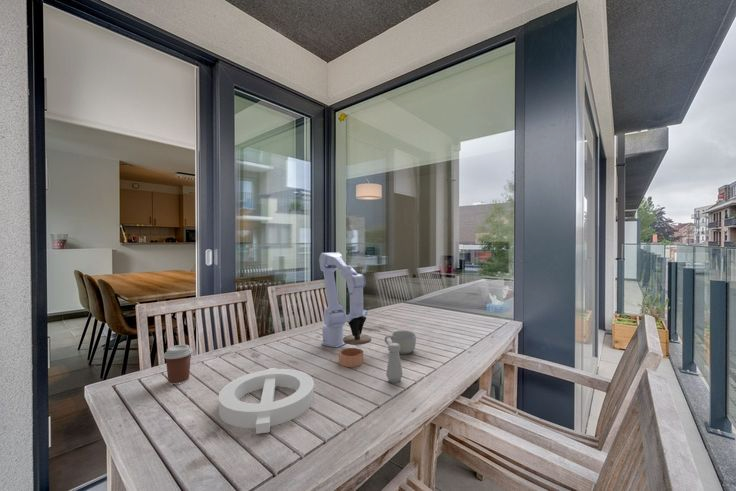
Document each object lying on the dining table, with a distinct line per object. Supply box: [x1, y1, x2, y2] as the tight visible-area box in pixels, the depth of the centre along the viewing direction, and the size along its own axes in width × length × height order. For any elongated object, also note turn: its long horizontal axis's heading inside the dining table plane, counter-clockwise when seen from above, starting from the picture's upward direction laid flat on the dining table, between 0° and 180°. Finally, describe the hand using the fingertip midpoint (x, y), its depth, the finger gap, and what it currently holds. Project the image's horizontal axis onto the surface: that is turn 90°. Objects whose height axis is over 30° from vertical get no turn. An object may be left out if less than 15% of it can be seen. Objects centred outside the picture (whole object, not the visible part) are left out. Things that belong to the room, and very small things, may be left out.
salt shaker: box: [385, 342, 404, 384], centre depth 112 cm, size 6×6×13 cm
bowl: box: [338, 347, 364, 368], centre depth 129 cm, size 10×10×4 cm
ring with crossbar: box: [217, 367, 315, 435], centre depth 98 cm, size 28×28×5 cm
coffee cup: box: [163, 344, 194, 385], centre depth 113 cm, size 9×9×12 cm
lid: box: [343, 330, 372, 346], centre depth 135 cm, size 12×12×4 cm
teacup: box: [384, 330, 417, 355], centre depth 141 cm, size 14×11×8 cm
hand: (356, 334), depth 135 cm, fingers closed on lid, 2 cm apart
